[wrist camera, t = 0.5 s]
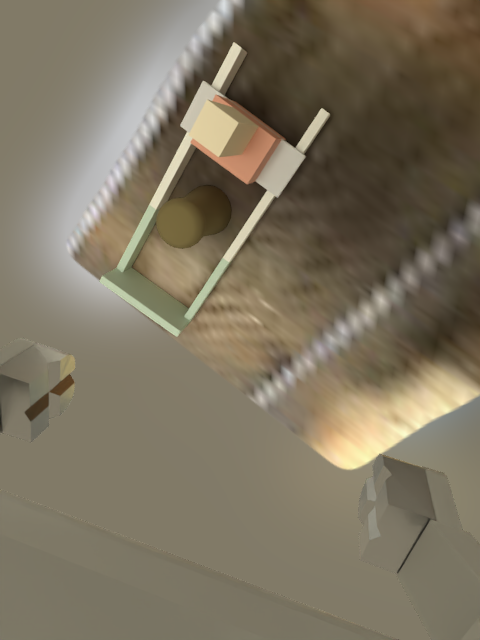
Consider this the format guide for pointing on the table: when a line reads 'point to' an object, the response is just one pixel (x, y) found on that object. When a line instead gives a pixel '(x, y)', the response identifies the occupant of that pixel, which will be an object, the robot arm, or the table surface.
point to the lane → (125, 277)
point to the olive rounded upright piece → (193, 216)
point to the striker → (240, 141)
